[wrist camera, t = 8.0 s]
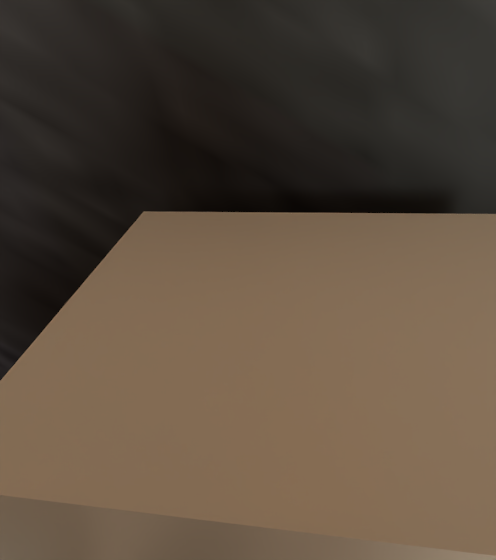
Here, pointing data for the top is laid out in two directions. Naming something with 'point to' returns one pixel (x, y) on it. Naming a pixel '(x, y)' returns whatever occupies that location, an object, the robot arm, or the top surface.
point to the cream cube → (262, 395)
